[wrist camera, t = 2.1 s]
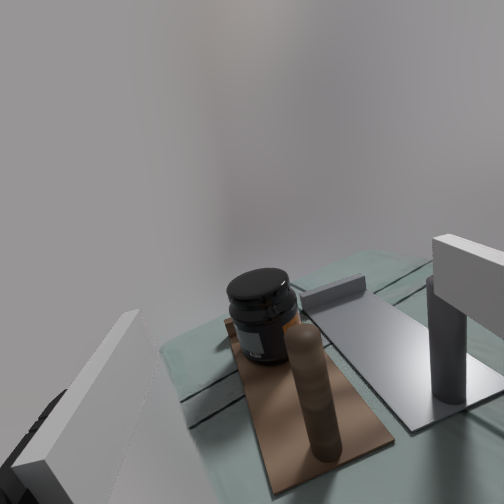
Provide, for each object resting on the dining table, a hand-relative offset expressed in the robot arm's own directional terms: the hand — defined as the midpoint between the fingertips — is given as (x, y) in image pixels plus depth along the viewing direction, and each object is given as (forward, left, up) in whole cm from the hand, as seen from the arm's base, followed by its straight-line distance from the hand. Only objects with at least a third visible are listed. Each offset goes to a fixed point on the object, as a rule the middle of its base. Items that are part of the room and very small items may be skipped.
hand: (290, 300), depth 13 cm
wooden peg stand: (+21, -3, -23) cm, 32 cm away
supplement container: (+27, -3, -23) cm, 36 cm away
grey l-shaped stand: (+21, -18, -23) cm, 36 cm away
